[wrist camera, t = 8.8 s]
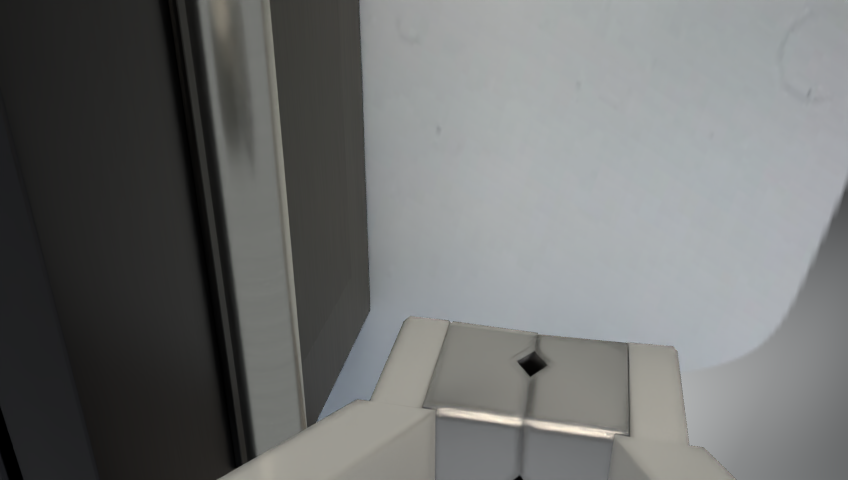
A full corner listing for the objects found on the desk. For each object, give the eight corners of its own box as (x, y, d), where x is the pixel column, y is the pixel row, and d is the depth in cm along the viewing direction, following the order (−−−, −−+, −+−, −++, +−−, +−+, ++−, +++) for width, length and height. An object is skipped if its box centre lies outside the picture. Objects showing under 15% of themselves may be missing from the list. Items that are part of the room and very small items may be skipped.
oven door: (454, -433, 21) (54, -1165, 6) (443, 318, 32) (298, 767, 17) (288, -423, 22) (-461, -1037, 6) (333, 306, 33) (98, 722, 18)
